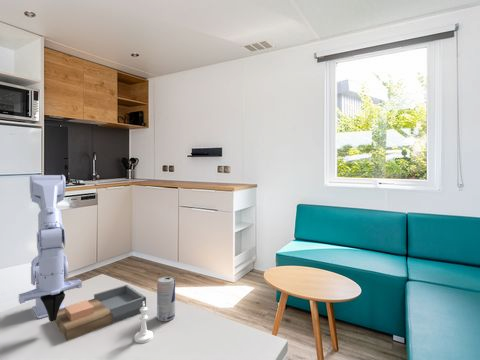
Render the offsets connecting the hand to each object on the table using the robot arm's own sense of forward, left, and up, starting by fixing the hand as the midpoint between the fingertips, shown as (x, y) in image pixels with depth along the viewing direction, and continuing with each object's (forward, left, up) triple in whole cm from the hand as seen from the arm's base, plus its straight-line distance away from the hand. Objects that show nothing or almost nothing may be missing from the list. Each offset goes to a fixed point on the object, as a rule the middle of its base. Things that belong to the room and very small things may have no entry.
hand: (52, 319), depth 79 cm
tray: (0, +19, -4) cm, 19 cm away
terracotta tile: (0, +7, -1) cm, 7 cm away
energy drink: (+15, +27, -4) cm, 31 cm away
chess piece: (+20, +17, -4) cm, 26 cm away
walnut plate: (0, +8, -4) cm, 9 cm away
